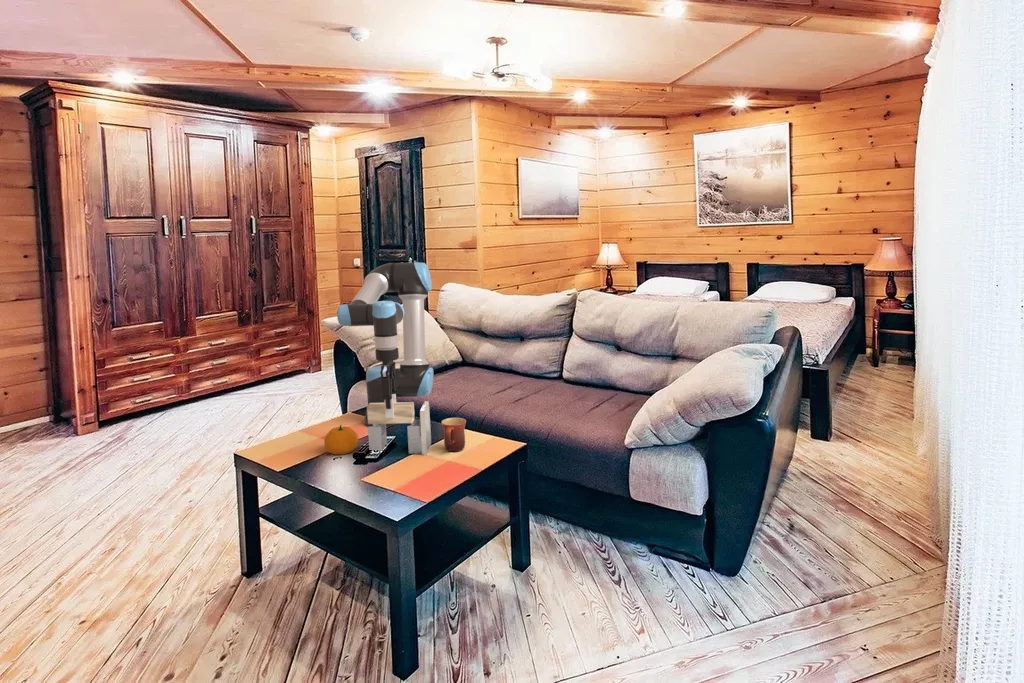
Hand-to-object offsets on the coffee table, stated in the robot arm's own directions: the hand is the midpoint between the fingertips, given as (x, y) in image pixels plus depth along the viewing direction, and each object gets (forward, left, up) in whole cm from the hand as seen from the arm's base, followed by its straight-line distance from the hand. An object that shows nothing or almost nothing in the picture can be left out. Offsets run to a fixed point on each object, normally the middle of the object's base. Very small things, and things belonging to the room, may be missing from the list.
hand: (391, 414), depth 209 cm
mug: (-6, +20, -16) cm, 26 cm away
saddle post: (-8, -7, -15) cm, 19 cm away
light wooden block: (0, 0, -2) cm, 2 cm away
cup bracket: (-8, +7, -15) cm, 19 cm away
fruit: (-8, -20, -16) cm, 27 cm away
